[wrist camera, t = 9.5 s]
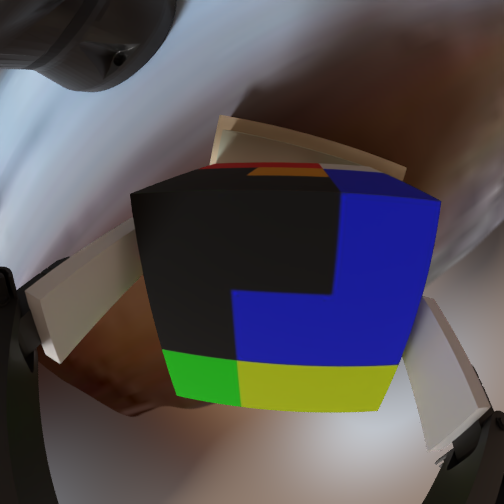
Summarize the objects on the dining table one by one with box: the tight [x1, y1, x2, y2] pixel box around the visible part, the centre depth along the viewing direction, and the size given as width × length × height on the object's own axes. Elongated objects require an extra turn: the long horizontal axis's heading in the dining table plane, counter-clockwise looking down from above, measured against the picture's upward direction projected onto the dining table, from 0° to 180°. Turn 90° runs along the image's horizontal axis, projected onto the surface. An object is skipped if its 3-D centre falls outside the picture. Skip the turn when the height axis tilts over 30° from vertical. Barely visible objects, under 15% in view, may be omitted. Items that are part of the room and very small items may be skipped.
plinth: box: [210, 115, 407, 181], centre depth 21 cm, size 14×14×5 cm
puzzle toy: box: [130, 162, 441, 412], centre depth 14 cm, size 10×10×10 cm
